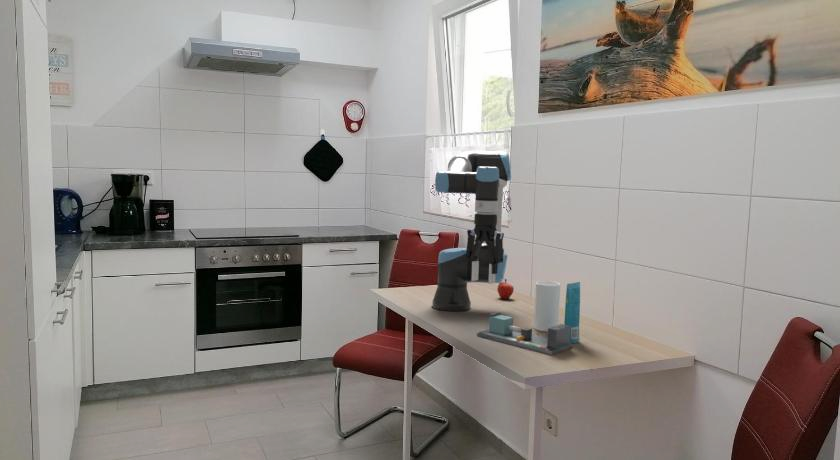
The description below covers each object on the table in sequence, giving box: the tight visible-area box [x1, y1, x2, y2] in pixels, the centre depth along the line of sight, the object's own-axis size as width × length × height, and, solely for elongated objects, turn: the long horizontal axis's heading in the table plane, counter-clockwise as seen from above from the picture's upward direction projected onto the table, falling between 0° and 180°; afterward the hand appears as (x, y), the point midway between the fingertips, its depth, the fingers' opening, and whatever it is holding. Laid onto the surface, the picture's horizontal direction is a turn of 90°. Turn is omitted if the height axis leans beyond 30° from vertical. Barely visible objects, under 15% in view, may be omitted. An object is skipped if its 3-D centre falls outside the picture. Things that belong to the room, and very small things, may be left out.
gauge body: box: [488, 311, 524, 335], centre depth 202 cm, size 11×5×6 cm, turn 47°
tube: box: [563, 281, 581, 344], centre depth 199 cm, size 7×5×19 cm, turn 140°
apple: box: [496, 278, 515, 300], centre depth 263 cm, size 8×7×10 cm
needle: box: [516, 327, 533, 341], centre depth 196 cm, size 2×7×3 cm, turn 137°
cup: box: [533, 280, 561, 333], centre depth 214 cm, size 8×8×16 cm
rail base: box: [477, 323, 573, 356], centre depth 198 cm, size 28×12×7 cm, turn 47°
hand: (483, 281), depth 208 cm, fingers open, 6 cm apart
